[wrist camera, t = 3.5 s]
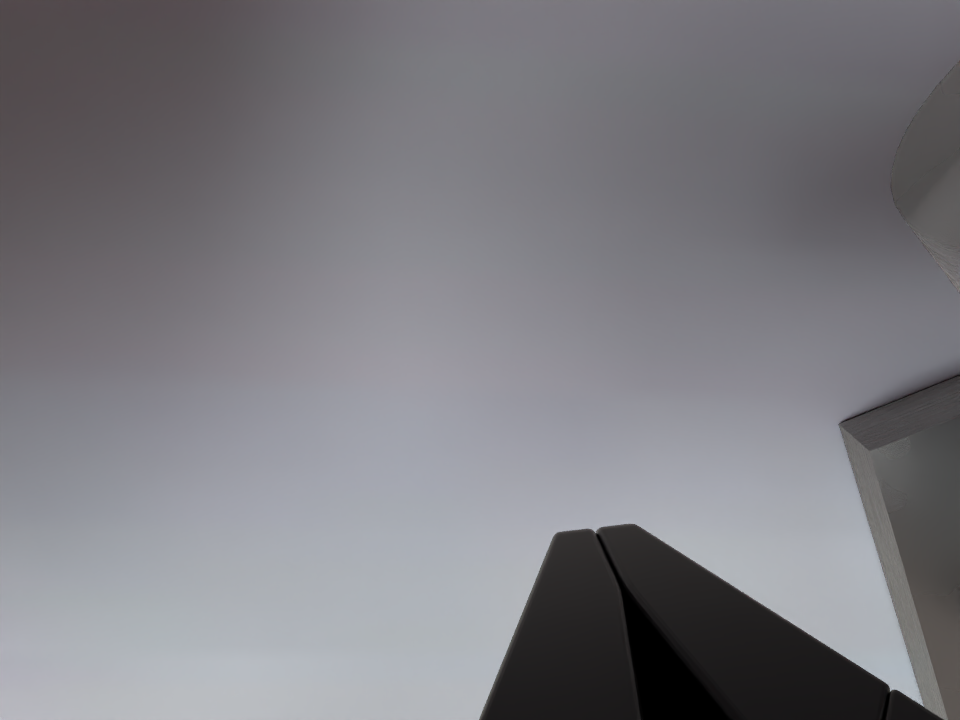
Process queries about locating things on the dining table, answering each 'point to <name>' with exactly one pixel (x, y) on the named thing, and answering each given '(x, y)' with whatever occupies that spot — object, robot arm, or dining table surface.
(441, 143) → the dining table surface
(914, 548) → the flange plate
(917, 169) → the elbow
